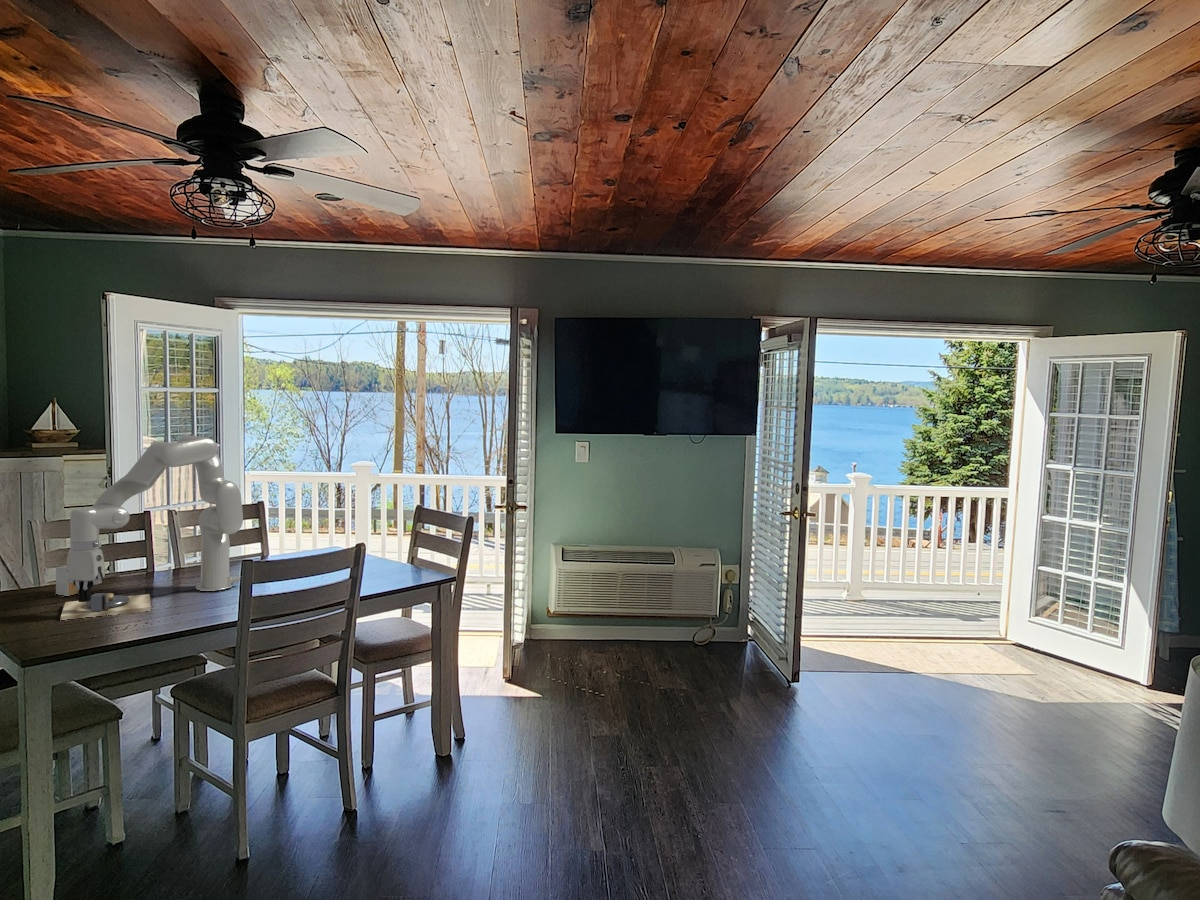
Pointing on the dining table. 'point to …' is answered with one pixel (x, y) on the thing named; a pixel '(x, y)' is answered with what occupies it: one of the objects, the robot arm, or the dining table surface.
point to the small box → (64, 583)
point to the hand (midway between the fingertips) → (84, 600)
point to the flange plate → (98, 601)
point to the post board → (106, 607)
